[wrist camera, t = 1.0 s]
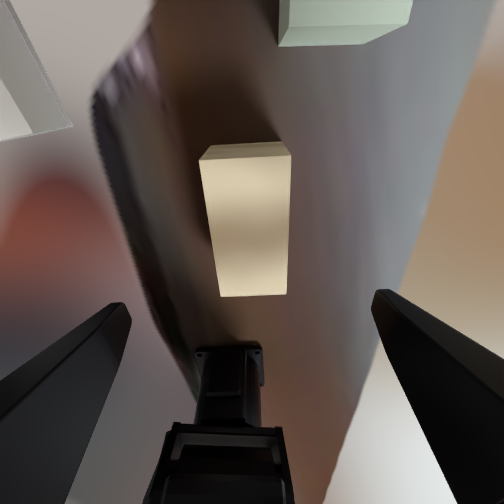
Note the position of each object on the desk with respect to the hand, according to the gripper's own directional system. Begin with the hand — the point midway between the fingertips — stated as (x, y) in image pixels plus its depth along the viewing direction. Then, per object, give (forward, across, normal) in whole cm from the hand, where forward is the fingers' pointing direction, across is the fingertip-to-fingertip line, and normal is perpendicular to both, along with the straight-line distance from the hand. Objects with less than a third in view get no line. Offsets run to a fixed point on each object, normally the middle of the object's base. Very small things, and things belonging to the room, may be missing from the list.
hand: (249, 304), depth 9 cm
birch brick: (+9, 0, 0) cm, 9 cm away
